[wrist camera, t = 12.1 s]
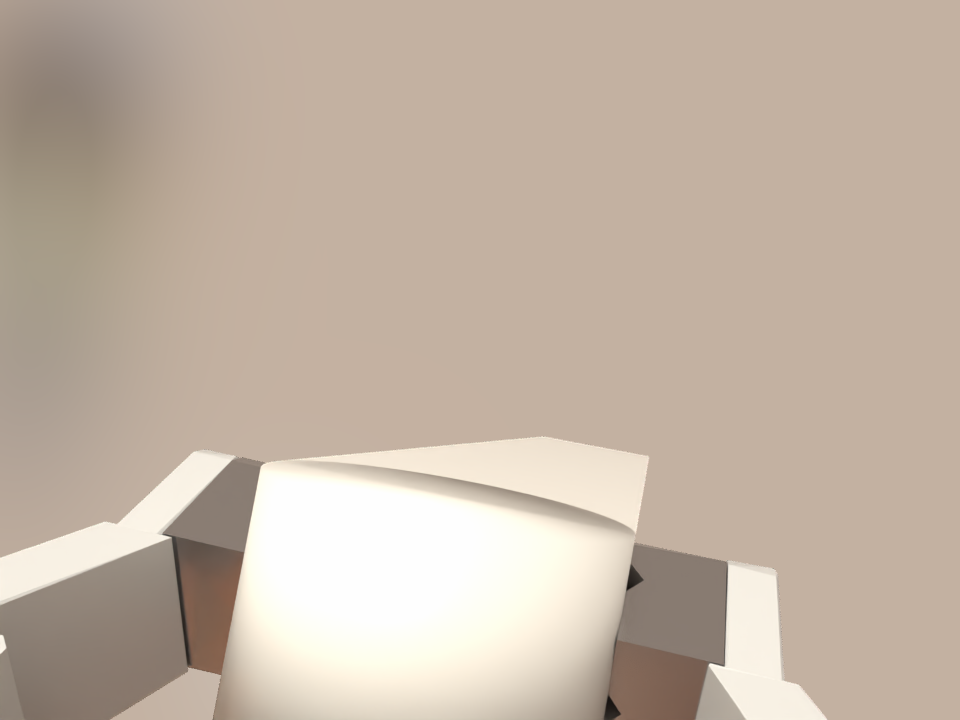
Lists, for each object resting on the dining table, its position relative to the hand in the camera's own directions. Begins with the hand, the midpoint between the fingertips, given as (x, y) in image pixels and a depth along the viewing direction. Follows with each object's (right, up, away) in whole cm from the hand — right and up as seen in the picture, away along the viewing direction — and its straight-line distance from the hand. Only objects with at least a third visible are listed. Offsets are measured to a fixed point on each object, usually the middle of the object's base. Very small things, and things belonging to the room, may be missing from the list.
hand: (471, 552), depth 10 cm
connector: (+2, -2, +9) cm, 10 cm away
